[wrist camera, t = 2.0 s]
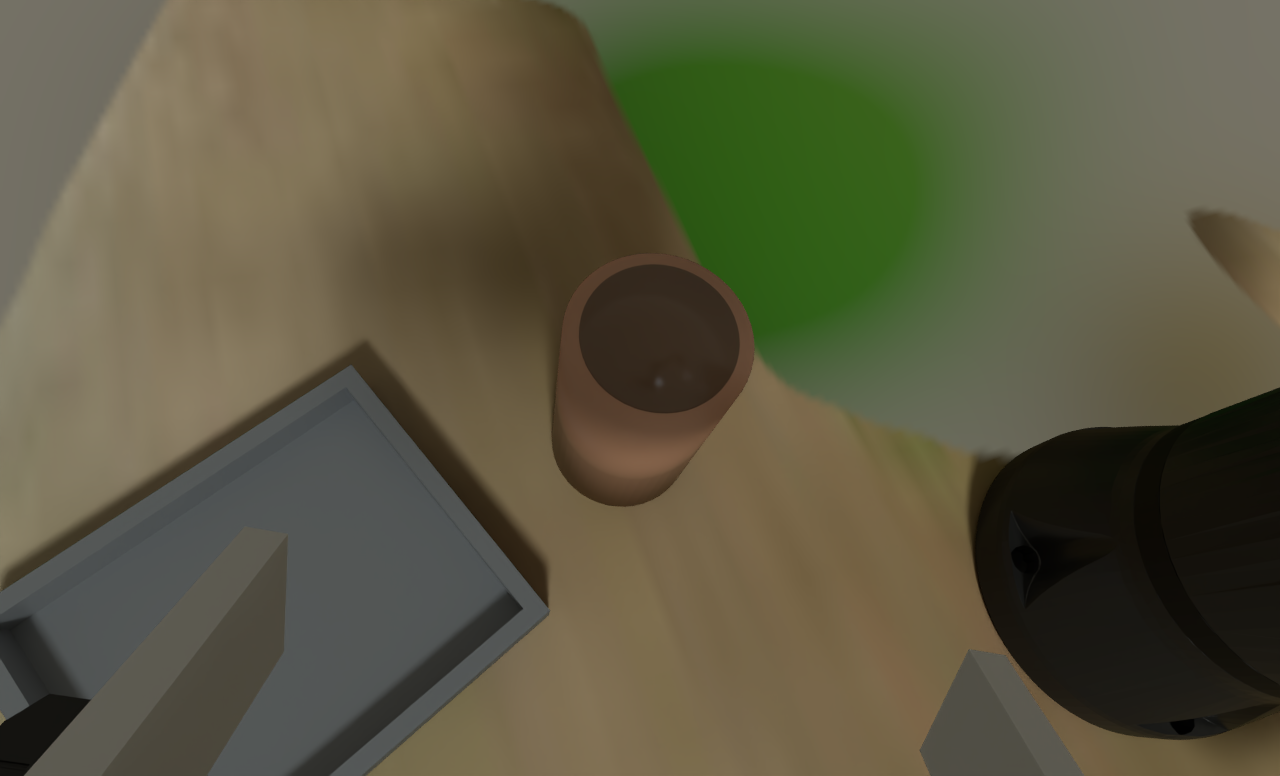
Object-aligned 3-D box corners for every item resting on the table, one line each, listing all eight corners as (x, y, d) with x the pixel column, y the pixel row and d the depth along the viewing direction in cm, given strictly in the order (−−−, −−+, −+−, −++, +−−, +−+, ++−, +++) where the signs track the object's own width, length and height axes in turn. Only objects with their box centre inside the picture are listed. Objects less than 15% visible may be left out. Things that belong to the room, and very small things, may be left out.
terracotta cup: (715, 448, 38) (794, 350, 27) (613, 535, 35) (653, 469, 24) (626, 351, 39) (666, 218, 28) (523, 428, 37) (520, 318, 25)
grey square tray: (548, 615, 34) (550, 610, 31) (183, 935, 27) (151, 959, 25) (362, 384, 36) (351, 364, 34) (-7, 629, 30) (-51, 625, 28)
